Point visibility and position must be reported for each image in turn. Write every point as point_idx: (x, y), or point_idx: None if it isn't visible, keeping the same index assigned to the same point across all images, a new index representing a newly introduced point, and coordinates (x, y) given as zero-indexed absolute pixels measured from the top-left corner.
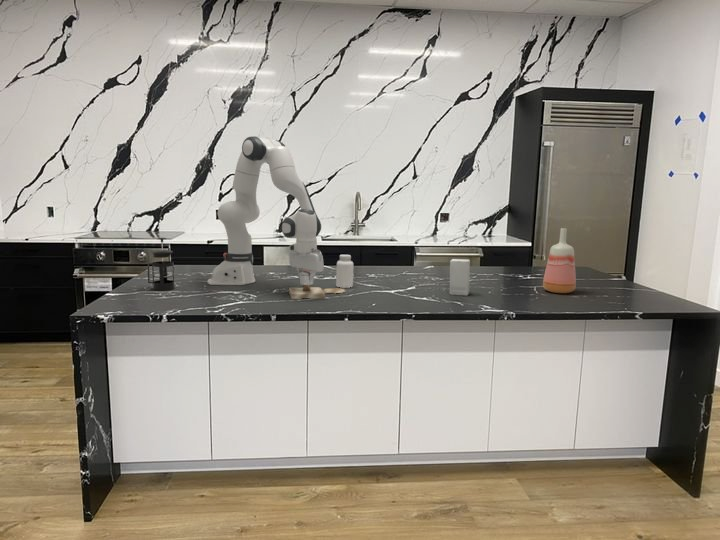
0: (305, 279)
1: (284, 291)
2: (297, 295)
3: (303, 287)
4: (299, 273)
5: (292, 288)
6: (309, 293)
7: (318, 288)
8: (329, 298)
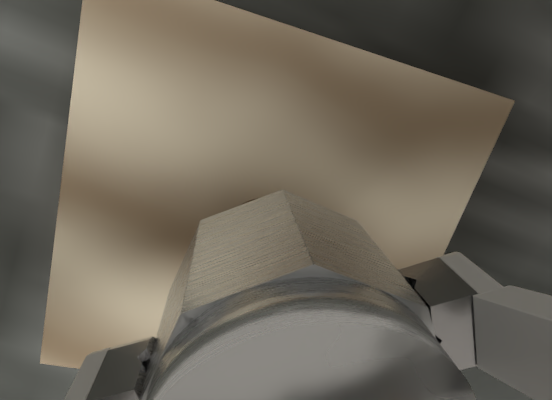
0: (176, 292)
1: (547, 68)
2: (83, 50)
3: None
4: (493, 306)
5: (457, 129)
6: (80, 214)
7: None
8: (38, 359)
